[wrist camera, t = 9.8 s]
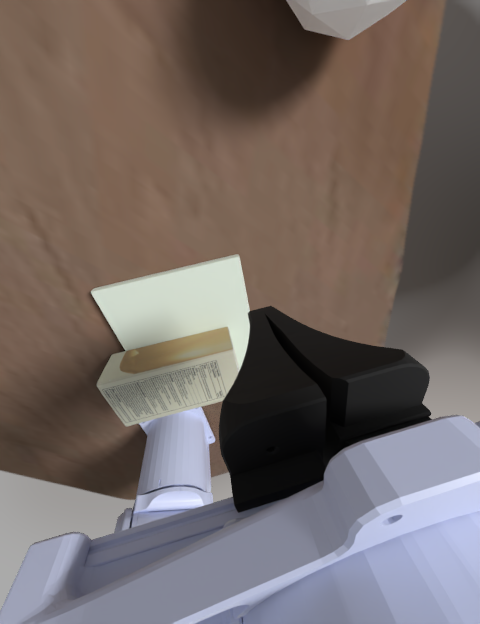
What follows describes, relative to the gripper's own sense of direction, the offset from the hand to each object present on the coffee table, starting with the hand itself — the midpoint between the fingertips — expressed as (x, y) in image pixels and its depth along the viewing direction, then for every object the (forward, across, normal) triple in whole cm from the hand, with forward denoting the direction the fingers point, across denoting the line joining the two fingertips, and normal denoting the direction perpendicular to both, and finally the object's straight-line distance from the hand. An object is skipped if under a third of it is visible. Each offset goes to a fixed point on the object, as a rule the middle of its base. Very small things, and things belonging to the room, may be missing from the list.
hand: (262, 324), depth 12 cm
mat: (+10, +6, +6) cm, 13 cm away
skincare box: (+7, +14, +8) cm, 18 cm away
